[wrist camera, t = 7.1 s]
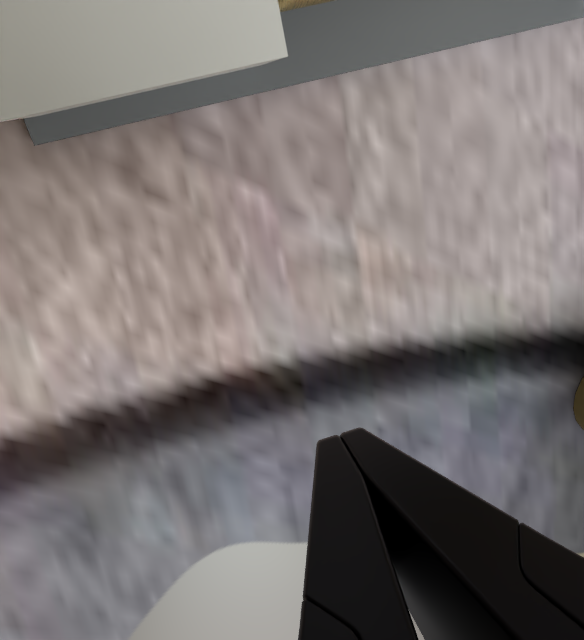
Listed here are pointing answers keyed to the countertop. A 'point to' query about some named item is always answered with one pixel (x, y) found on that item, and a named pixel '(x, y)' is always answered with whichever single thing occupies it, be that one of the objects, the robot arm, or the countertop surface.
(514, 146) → the countertop surface
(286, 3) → the bolt
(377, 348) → the countertop surface
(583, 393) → the cork
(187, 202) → the countertop surface
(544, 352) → the countertop surface
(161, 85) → the sleeve
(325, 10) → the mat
